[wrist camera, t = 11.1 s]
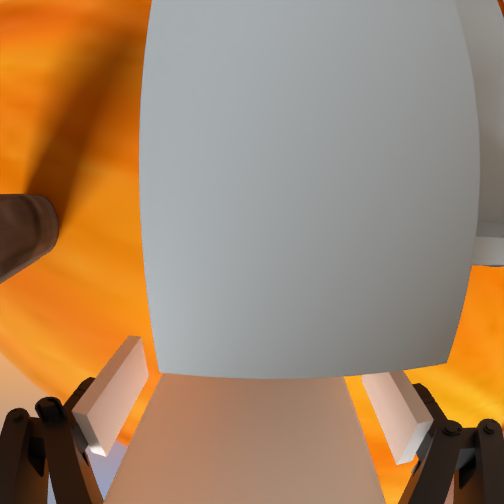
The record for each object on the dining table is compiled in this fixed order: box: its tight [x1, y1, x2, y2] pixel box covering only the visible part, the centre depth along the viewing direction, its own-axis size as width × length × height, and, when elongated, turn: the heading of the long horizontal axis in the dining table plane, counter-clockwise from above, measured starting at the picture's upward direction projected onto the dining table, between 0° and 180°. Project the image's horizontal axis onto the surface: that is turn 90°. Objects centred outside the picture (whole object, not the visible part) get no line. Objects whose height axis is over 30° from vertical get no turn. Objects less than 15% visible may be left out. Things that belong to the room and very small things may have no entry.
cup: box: [103, 373, 386, 504], centre depth 11 cm, size 8×8×16 cm
